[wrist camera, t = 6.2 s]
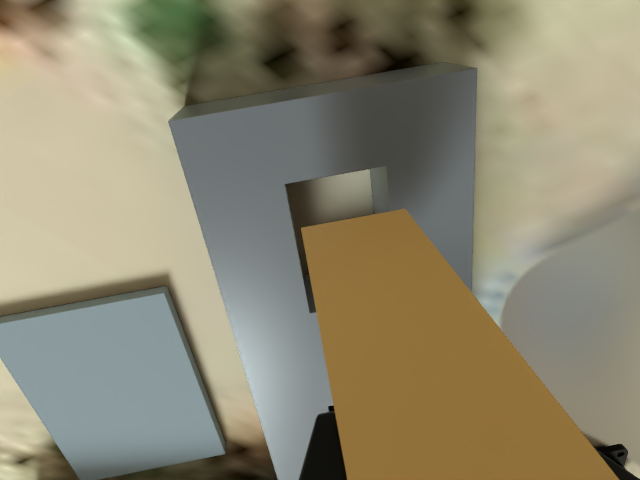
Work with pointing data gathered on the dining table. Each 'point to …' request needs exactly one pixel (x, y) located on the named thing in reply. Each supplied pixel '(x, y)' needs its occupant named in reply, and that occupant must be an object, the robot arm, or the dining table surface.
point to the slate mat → (113, 383)
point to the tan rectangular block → (428, 366)
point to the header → (277, 223)
